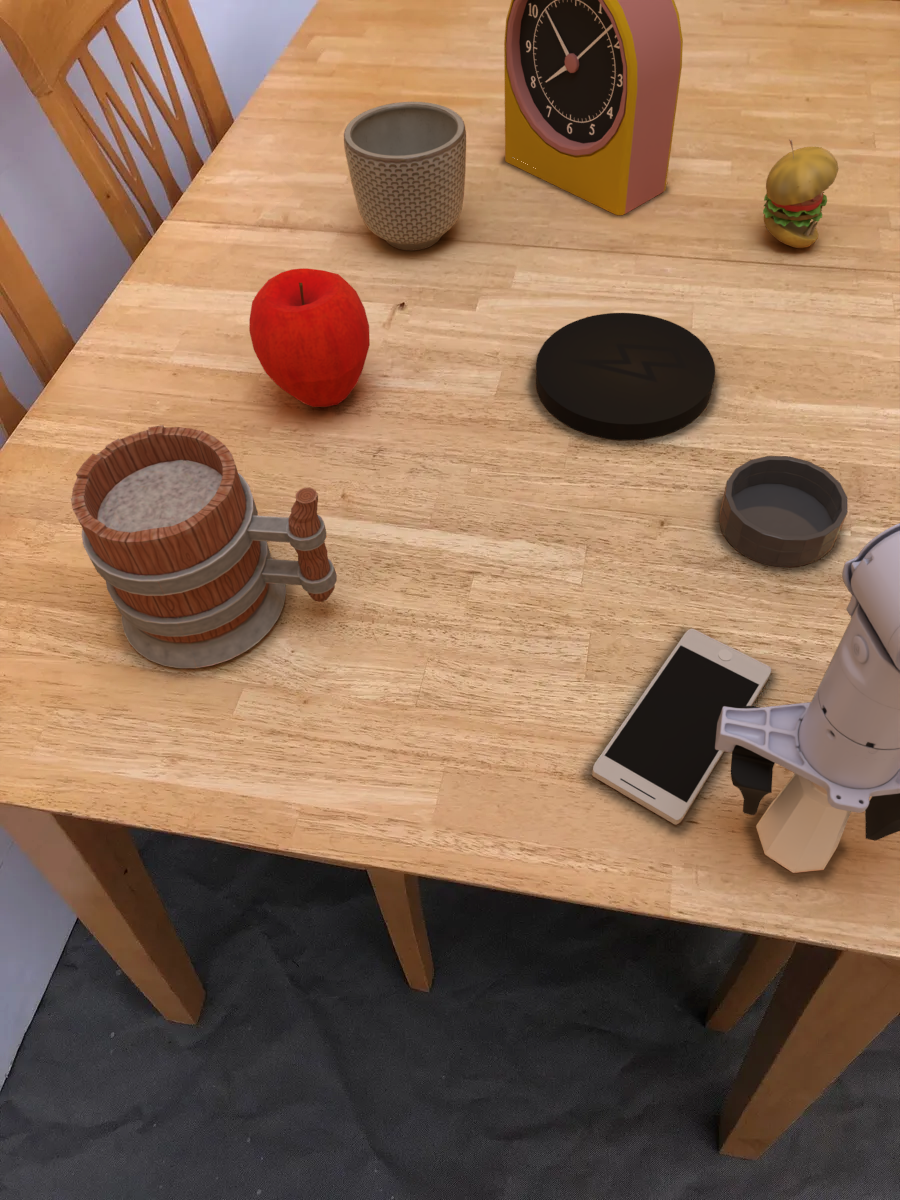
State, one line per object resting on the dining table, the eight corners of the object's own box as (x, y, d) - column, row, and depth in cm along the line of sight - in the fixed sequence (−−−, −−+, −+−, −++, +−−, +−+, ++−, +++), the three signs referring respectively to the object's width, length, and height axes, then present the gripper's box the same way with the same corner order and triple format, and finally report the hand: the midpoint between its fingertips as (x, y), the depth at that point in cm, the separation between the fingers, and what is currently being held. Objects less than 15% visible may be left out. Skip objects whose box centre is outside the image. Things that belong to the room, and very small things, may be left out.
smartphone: (771, 673, 72) (774, 666, 71) (678, 827, 64) (680, 821, 64) (687, 632, 75) (689, 625, 74) (589, 775, 67) (590, 769, 67)
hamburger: (824, 258, 106) (855, 154, 97) (761, 261, 106) (785, 158, 97) (808, 222, 111) (835, 120, 102) (747, 225, 111) (769, 124, 102)
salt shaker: (751, 863, 63) (789, 789, 54) (759, 793, 66) (796, 712, 57) (834, 884, 62) (887, 812, 53) (838, 812, 65) (889, 732, 56)
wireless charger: (508, 355, 98) (508, 339, 97) (657, 312, 102) (659, 296, 100) (582, 460, 88) (583, 445, 86) (746, 409, 91) (750, 393, 89)
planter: (487, 217, 116) (485, 110, 105) (440, 276, 108) (433, 167, 98) (389, 198, 120) (378, 93, 110) (337, 254, 112) (320, 147, 102)
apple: (244, 393, 97) (211, 280, 86) (335, 345, 101) (314, 231, 90) (308, 450, 91) (281, 335, 80) (401, 396, 95) (388, 281, 85)
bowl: (836, 492, 84) (847, 463, 81) (835, 576, 78) (847, 548, 75) (723, 476, 85) (730, 448, 83) (714, 557, 80) (721, 530, 77)
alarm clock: (502, 160, 124) (500, -73, 104) (550, 136, 128) (557, -94, 107) (619, 216, 114) (643, -29, 93) (668, 188, 117) (701, -54, 97)
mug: (154, 538, 84) (96, 411, 73) (360, 552, 82) (335, 422, 70) (99, 665, 76) (24, 544, 64) (327, 684, 74) (292, 561, 62)
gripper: (730, 740, 49) (691, 845, 60) (1027, 797, 46) (930, 896, 57) (739, 635, 53) (701, 750, 64) (1012, 682, 50) (924, 794, 61)
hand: (809, 813), depth 61 cm, fingers open, 7 cm apart
